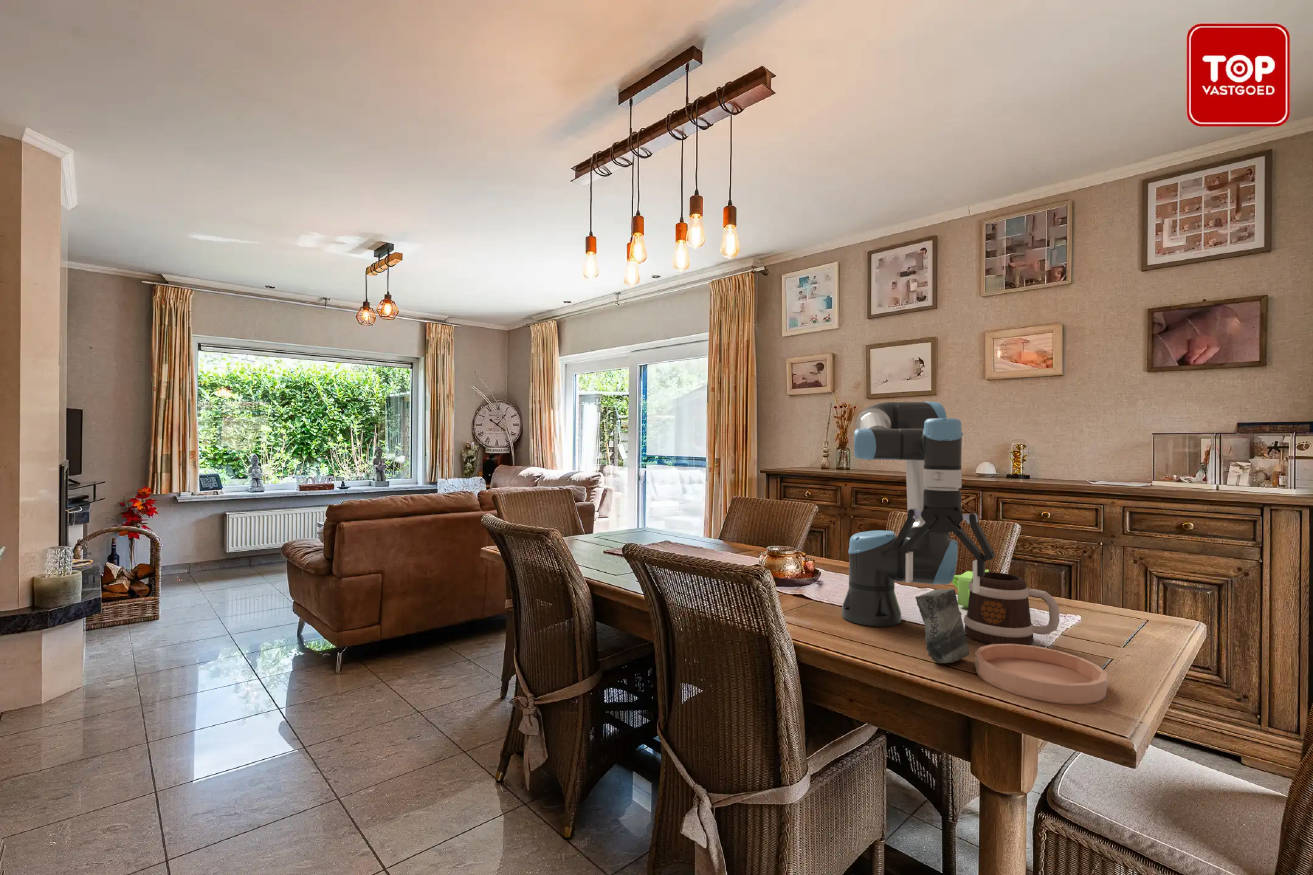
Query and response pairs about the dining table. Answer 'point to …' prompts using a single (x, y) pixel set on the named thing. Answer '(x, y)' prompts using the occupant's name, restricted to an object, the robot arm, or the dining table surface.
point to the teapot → (963, 587)
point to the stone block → (943, 626)
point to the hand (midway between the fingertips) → (941, 586)
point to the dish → (1041, 673)
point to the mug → (1005, 611)
